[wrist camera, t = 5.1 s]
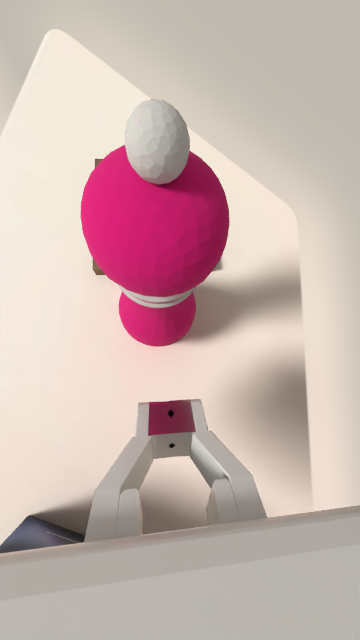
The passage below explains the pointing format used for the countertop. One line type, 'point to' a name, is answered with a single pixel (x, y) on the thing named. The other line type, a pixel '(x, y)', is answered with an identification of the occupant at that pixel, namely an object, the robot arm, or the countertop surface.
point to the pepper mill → (155, 223)
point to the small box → (38, 536)
